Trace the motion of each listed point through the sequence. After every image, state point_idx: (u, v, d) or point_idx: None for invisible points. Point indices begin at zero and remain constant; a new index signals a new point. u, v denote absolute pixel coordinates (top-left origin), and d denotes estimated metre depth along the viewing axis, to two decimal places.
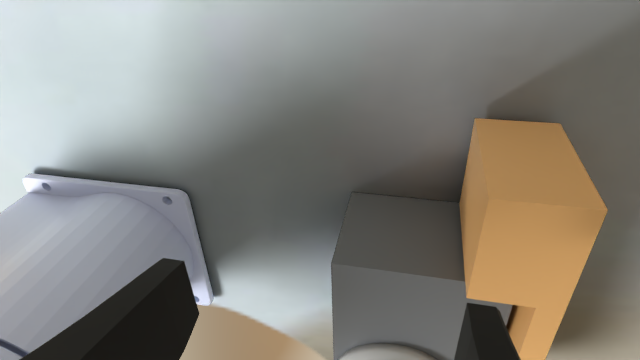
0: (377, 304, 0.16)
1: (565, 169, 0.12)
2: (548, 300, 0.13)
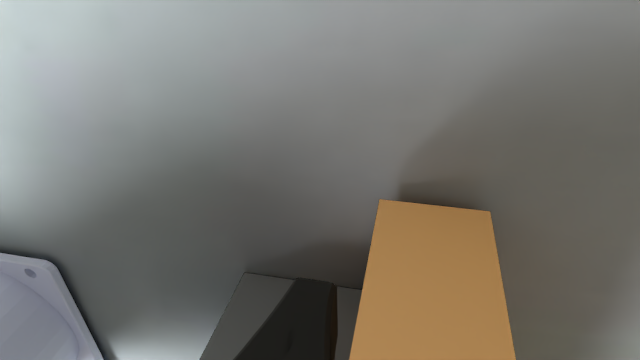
0: None
1: (477, 304, 0.08)
2: None
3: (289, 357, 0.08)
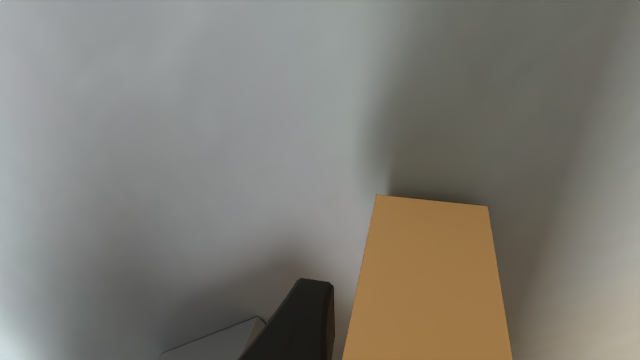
0: None
1: (473, 298, 0.08)
2: None
3: (285, 356, 0.08)
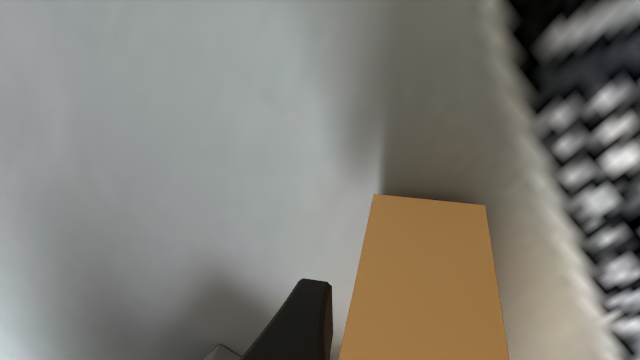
0: None
1: (470, 296, 0.08)
2: None
3: (282, 356, 0.08)
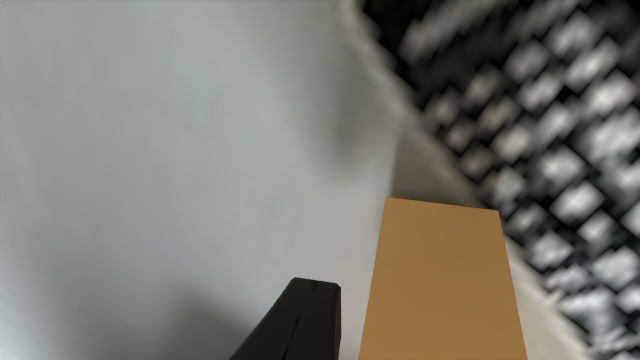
0: None
1: (487, 304, 0.08)
2: None
3: (294, 358, 0.08)
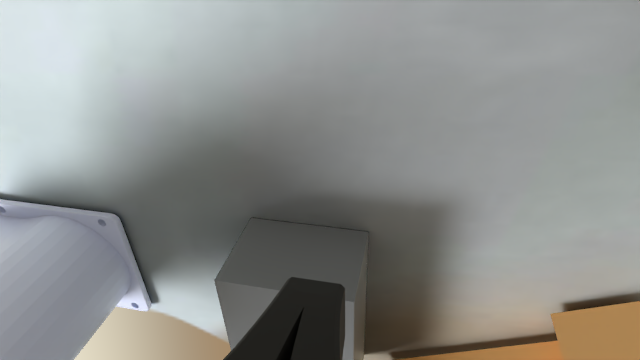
0: (256, 313, 0.19)
1: None
2: None
3: (299, 359, 0.08)
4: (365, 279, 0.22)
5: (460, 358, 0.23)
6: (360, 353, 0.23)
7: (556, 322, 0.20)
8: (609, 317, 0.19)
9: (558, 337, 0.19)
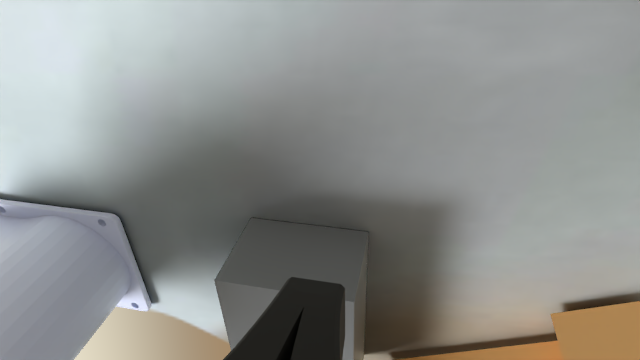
0: (256, 313, 0.19)
1: None
2: None
3: (299, 359, 0.08)
4: (365, 279, 0.22)
5: (460, 358, 0.23)
6: (360, 353, 0.23)
7: (556, 322, 0.20)
8: (609, 317, 0.19)
9: (558, 337, 0.19)
